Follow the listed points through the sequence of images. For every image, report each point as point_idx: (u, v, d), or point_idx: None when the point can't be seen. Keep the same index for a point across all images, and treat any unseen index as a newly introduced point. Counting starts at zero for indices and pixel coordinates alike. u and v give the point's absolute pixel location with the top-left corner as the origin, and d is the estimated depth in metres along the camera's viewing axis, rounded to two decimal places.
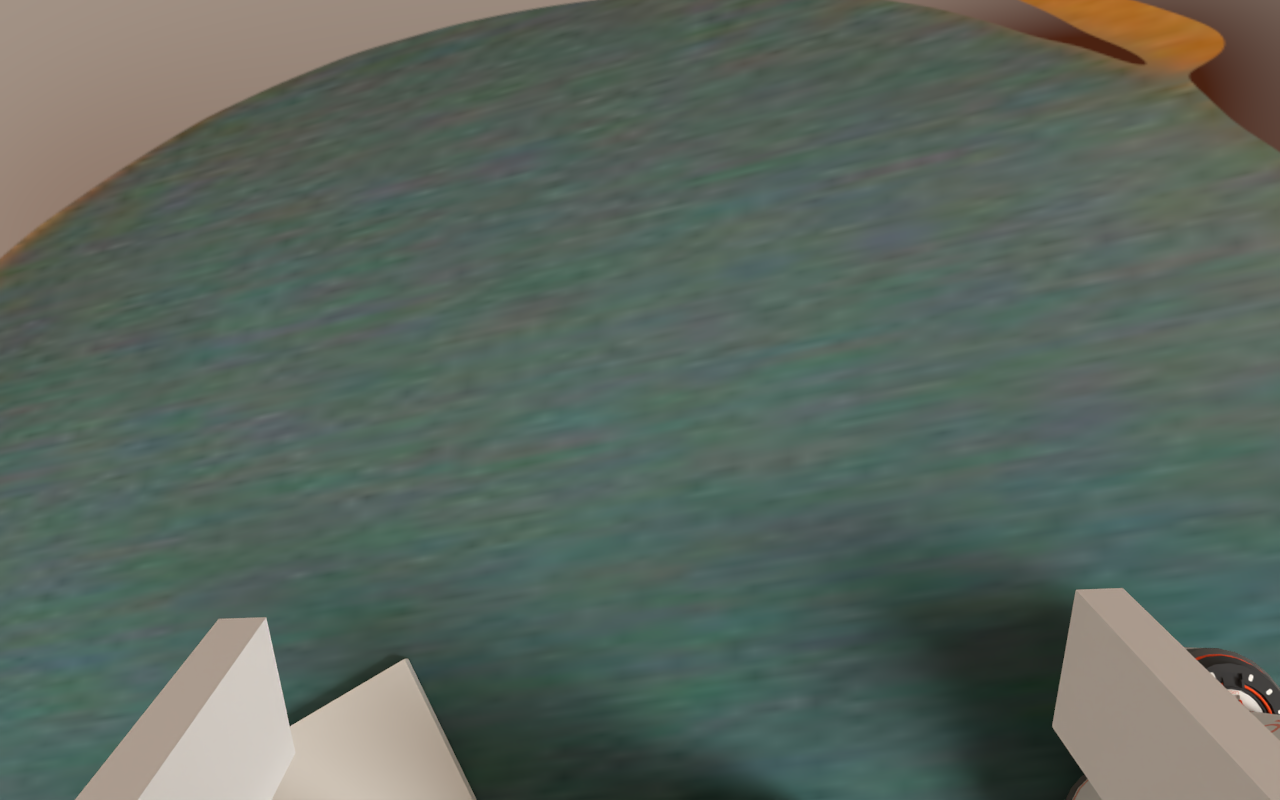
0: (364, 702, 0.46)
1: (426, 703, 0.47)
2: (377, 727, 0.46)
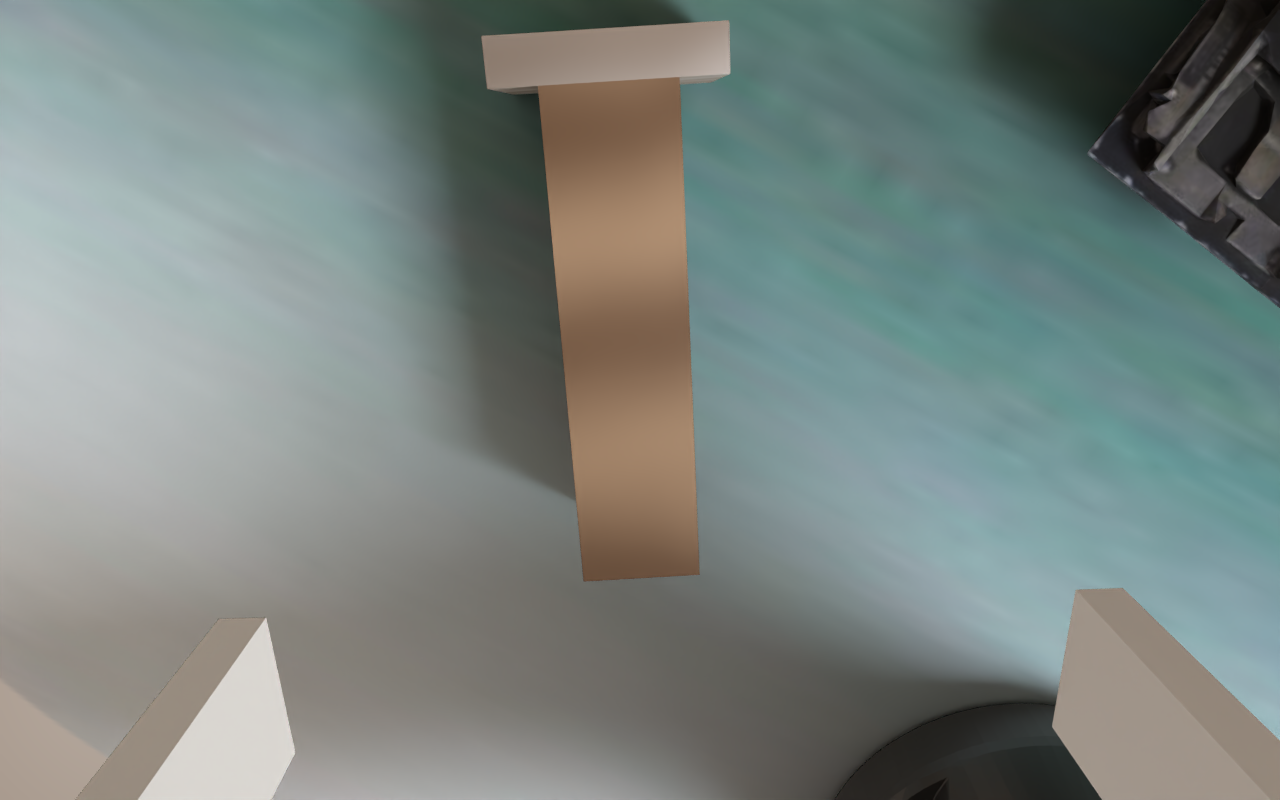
0: None
1: None
2: None
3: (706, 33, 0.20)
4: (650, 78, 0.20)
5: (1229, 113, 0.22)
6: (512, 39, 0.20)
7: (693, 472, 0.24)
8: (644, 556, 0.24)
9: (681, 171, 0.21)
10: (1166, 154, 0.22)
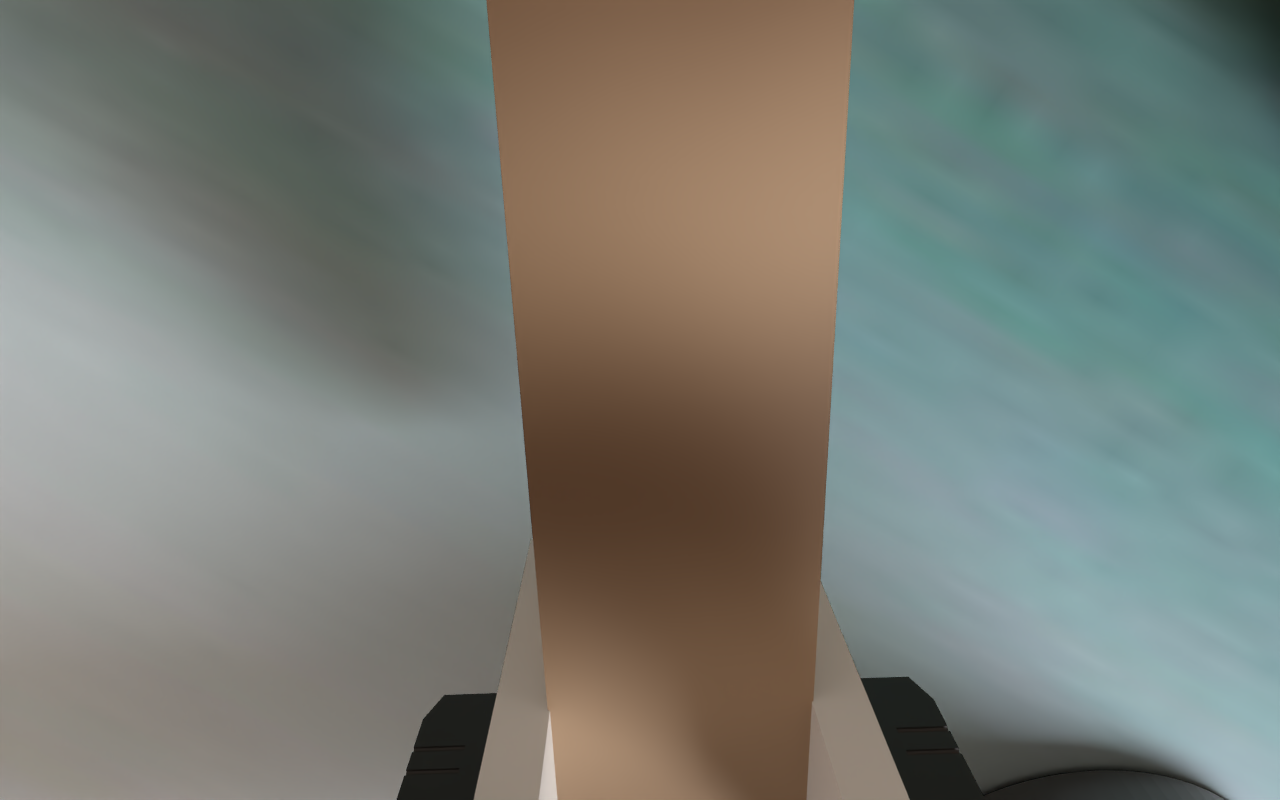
0: None
1: None
2: None
3: None
4: None
5: None
6: None
7: (807, 742, 0.11)
8: None
9: (845, 71, 0.08)
10: None
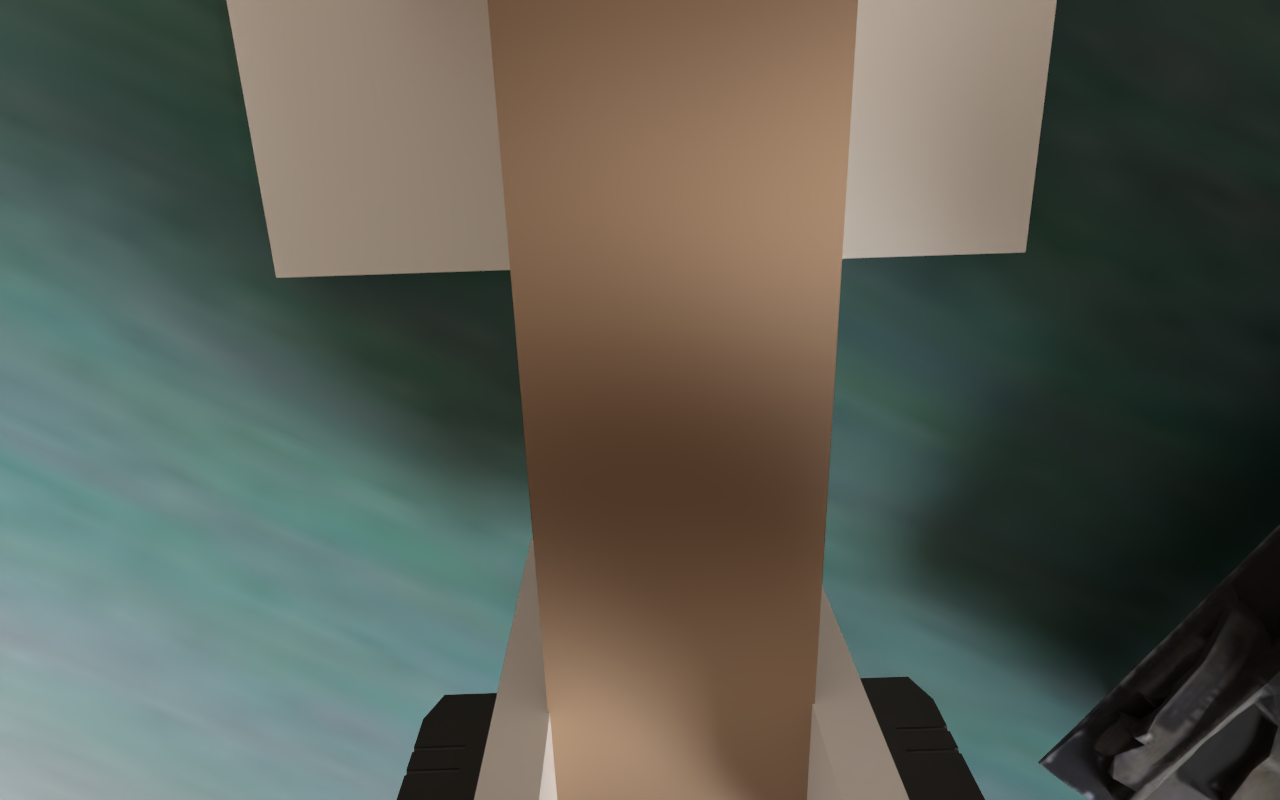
0: None
1: None
2: None
3: None
4: None
5: (1220, 729, 0.17)
6: None
7: (808, 743, 0.11)
8: None
9: (848, 69, 0.08)
10: None
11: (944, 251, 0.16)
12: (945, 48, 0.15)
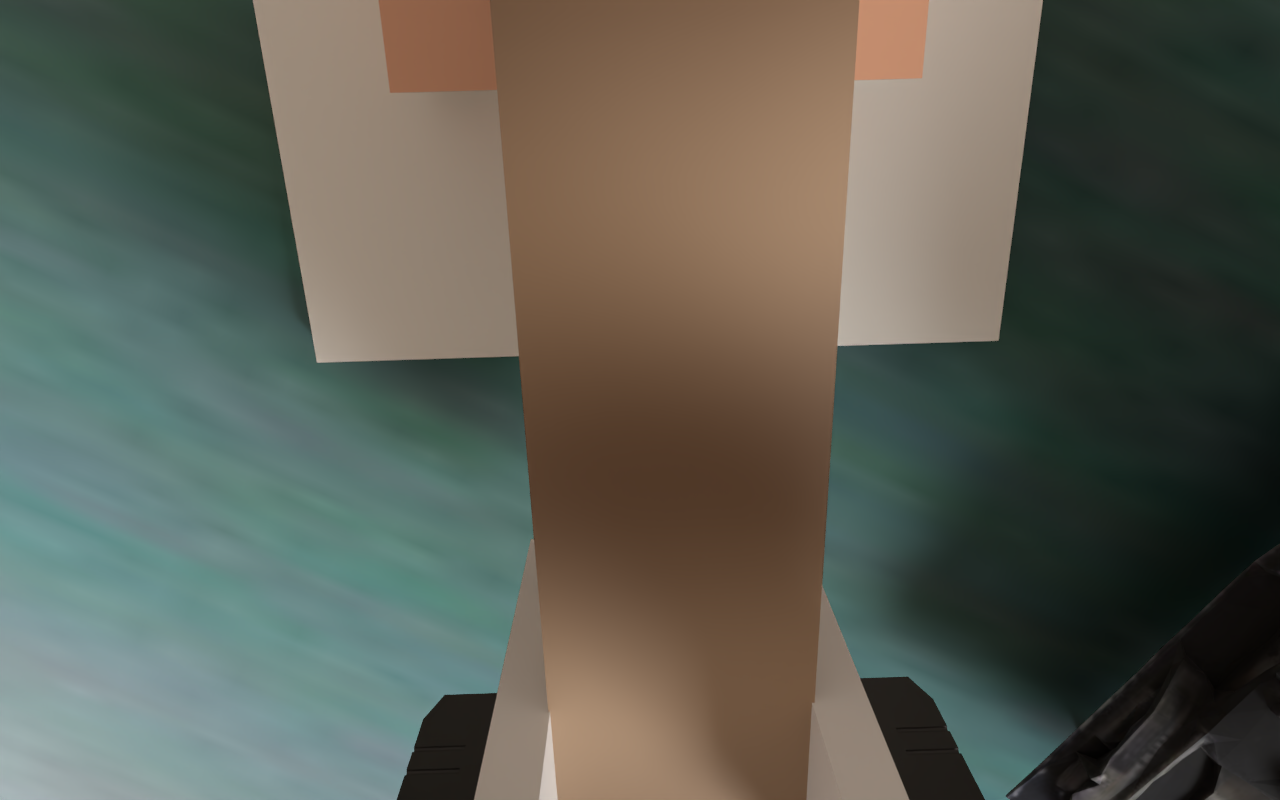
0: None
1: None
2: None
3: None
4: None
5: None
6: None
7: (808, 742, 0.11)
8: None
9: (850, 68, 0.08)
10: None
11: (924, 339, 0.18)
12: (926, 163, 0.17)
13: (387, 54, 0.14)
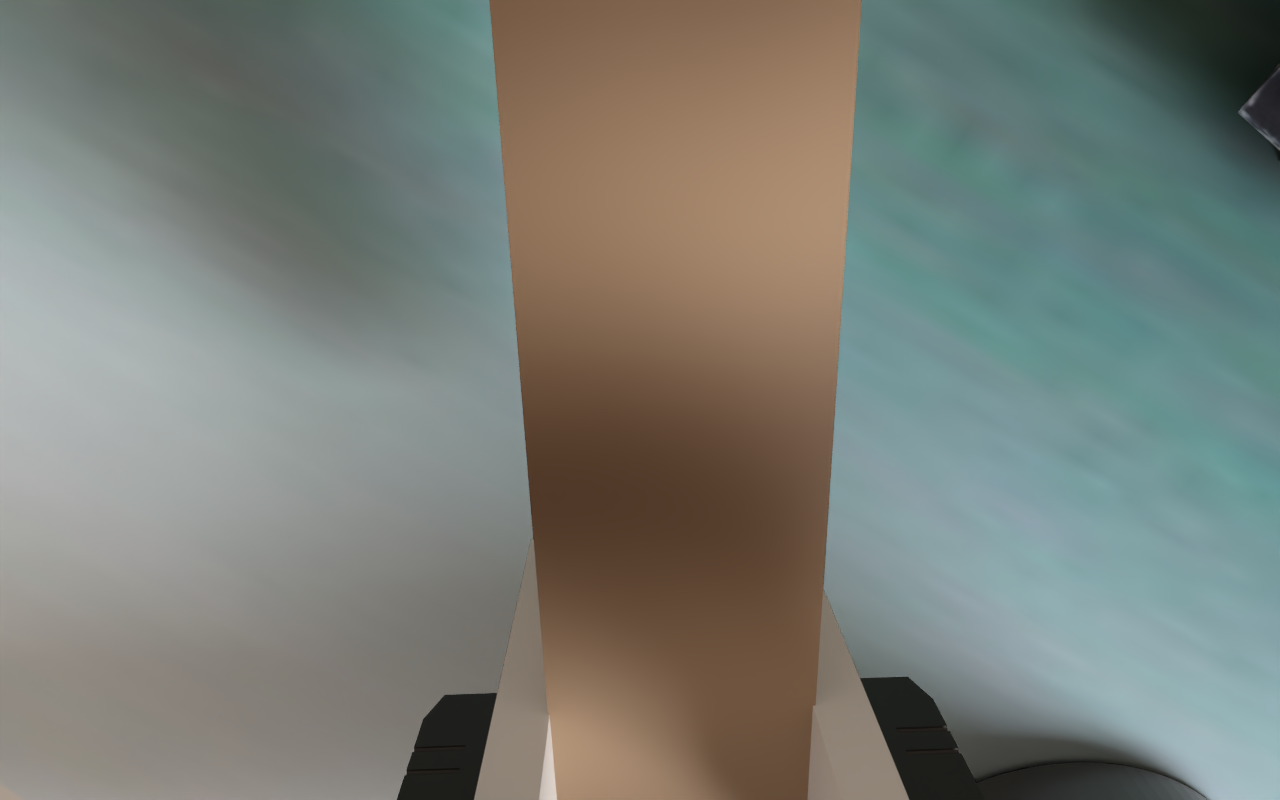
0: None
1: None
2: None
3: None
4: None
5: None
6: None
7: (809, 744, 0.11)
8: None
9: (852, 66, 0.08)
10: None
11: None
12: None
13: None
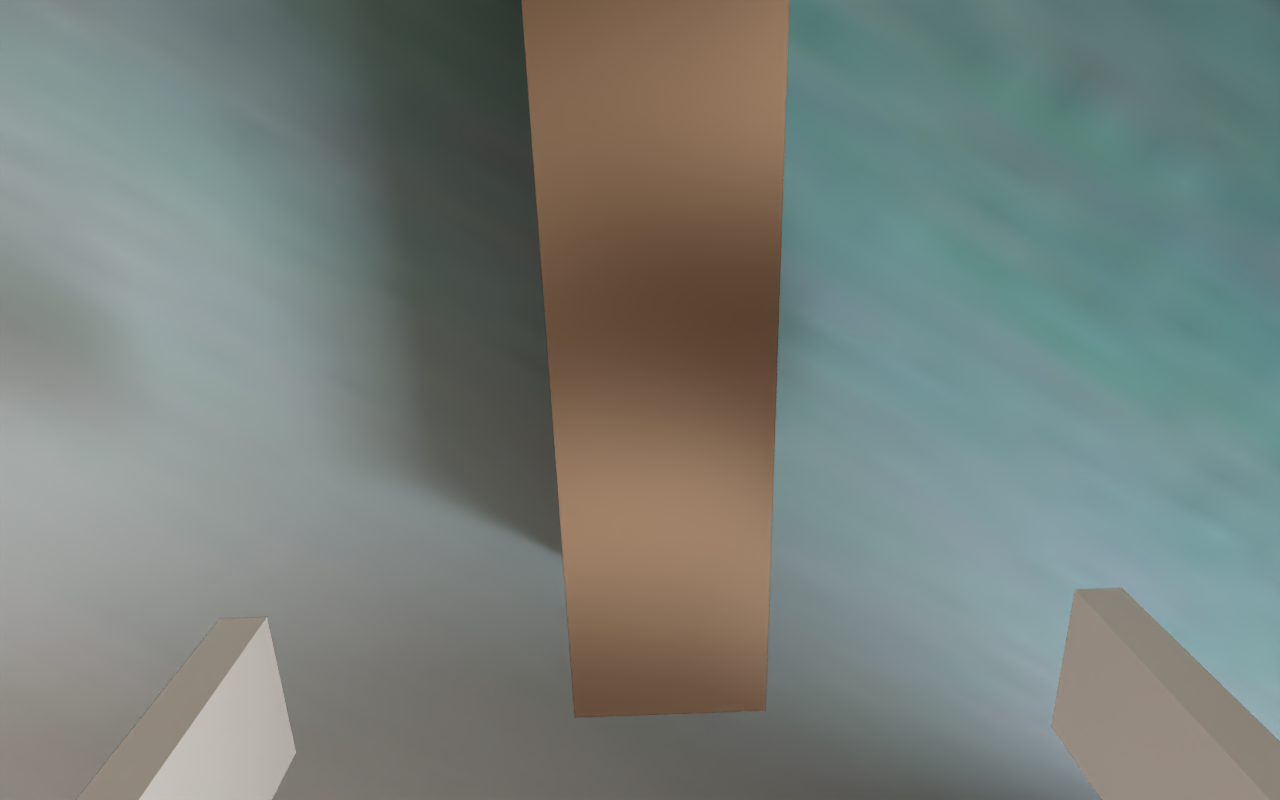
0: None
1: None
2: None
3: None
4: None
5: None
6: None
7: (767, 552, 0.14)
8: (676, 681, 0.15)
9: (785, 0, 0.11)
10: None
11: None
12: None
13: None
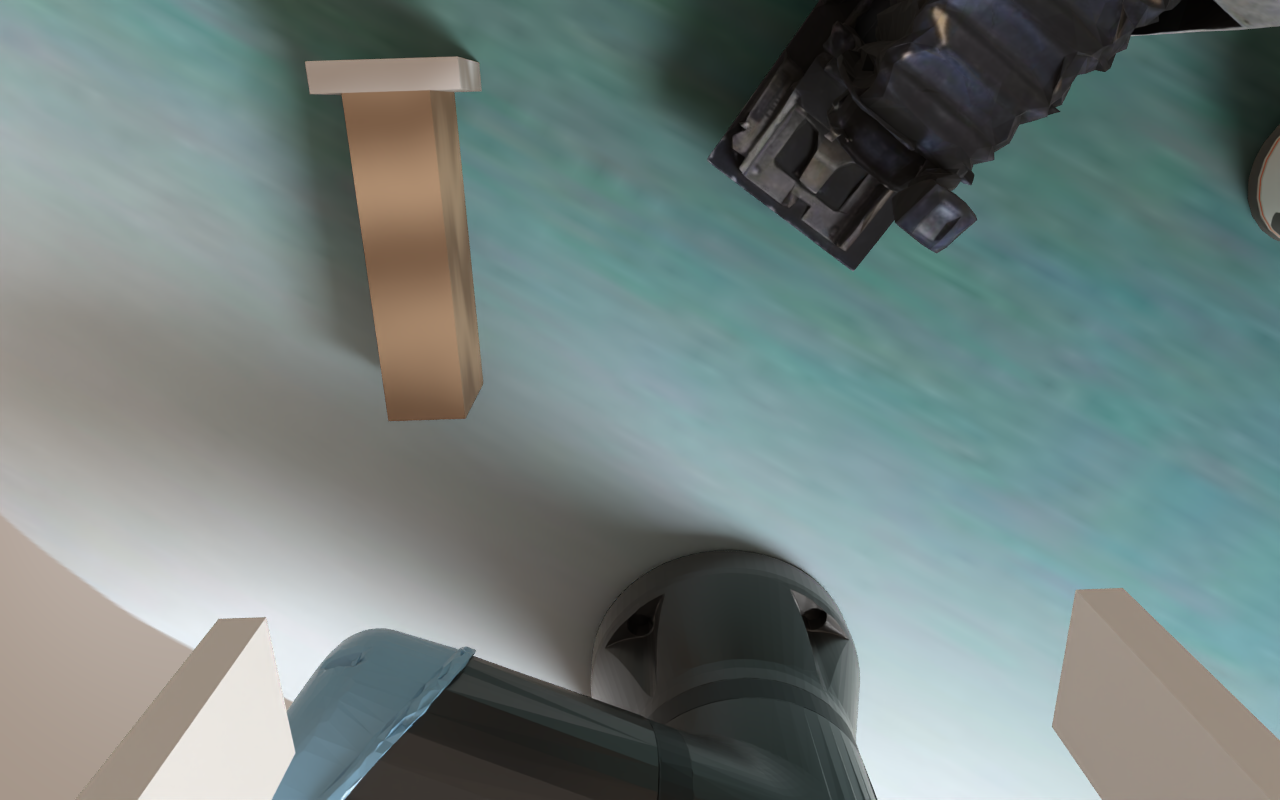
0: None
1: None
2: None
3: (444, 64, 0.32)
4: (411, 90, 0.33)
5: (794, 138, 0.35)
6: (324, 63, 0.32)
7: (456, 347, 0.36)
8: (427, 404, 0.37)
9: (434, 149, 0.33)
10: (746, 163, 0.34)
11: None
12: None
13: None
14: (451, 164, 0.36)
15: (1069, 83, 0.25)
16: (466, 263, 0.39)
